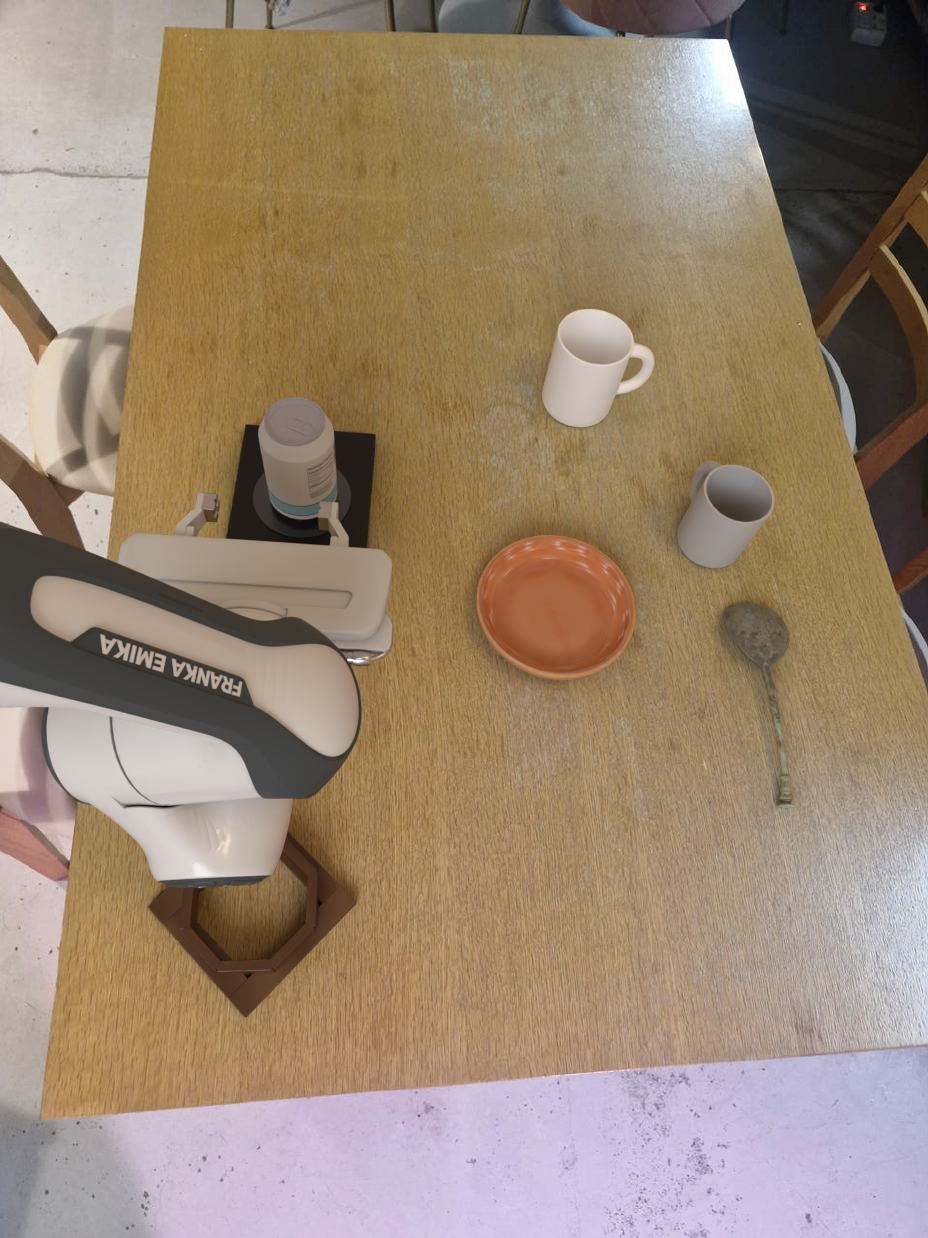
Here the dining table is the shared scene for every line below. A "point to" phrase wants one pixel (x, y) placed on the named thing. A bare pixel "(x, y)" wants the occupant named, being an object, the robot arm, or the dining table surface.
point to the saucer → (555, 607)
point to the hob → (266, 523)
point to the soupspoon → (763, 663)
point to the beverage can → (298, 457)
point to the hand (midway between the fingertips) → (269, 501)
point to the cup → (723, 513)
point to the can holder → (247, 993)
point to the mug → (591, 367)
